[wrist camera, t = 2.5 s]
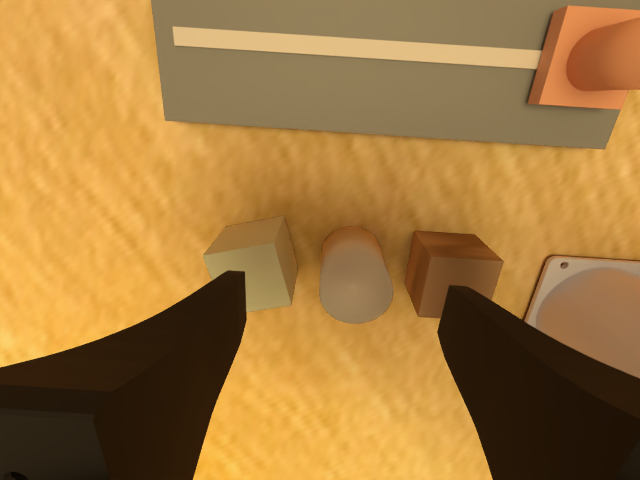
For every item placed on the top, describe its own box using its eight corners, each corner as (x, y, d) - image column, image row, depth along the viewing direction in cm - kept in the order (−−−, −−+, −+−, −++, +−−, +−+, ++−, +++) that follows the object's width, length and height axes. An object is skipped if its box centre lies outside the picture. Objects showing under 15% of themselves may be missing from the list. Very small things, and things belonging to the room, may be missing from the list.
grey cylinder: (383, 228, 22) (398, 263, 17) (376, 281, 23) (387, 326, 19) (323, 224, 22) (321, 257, 17) (319, 277, 23) (317, 321, 19)
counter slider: (640, 16, 15) (771, -19, 11) (605, 108, 17) (708, 112, 12) (553, 11, 15) (649, -27, 11) (527, 103, 17) (601, 105, 12)
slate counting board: (646, -22, 16) (679, -35, 15) (585, 145, 19) (607, 150, 18) (158, -54, 16) (140, -70, 15) (176, 119, 19) (163, 120, 18)
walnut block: (474, 234, 22) (503, 261, 18) (460, 286, 23) (485, 321, 20) (413, 230, 22) (430, 256, 18) (404, 282, 23) (418, 316, 20)
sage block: (284, 215, 22) (273, 242, 18) (298, 268, 23) (291, 305, 19) (226, 226, 22) (202, 255, 18) (243, 277, 24) (225, 315, 19)
